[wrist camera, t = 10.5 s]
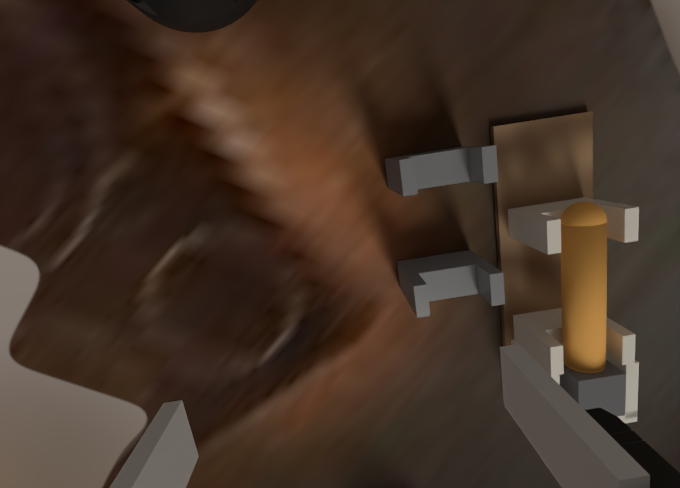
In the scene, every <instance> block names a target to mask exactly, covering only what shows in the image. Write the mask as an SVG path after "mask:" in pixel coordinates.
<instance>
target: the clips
mask: <svg viewBox="0 0 680 488" xmlns="http://www.w3.org/2000/svg"><path fill="white" fill-rule="evenodd" d="M582 201H586V202H592V203H594V204H597V205H598V206H600V207H601V208H602V209H603V210H604V212H605V214H606V216H607V238H610V239H613V240H617V241H620V242H623V243H627V242H633V241H638V224H639V207H636V206H630V205H624V204H619V203H613V202H607V201H601V200H595V199H590V198H584V197H583V198H577V199H570V200H564V201H557V202H551V203H544V204H538V205H532V206H525V207H519V208H512V209H508V225H509V237H510V238H512V239H515V240H517V241H519V242H521V243H523V244H525V245H528V246H530V247H532V248H534V249H536V250H539V251H541V252H543V253H545V254H547V255H549V254H556V253H561V219H560V218H561V215H562V213H563V212H564V210H565V209H566V208H567V207H569V206H570V205H572V204H574V203H577V202H582ZM513 323H514V340H511V345H515V344H519V345H520V346H521V347H522V348H523V349H524V350H525V351H526V352H527V353H528V354H529V355H530V356H531V357H532V358H533V359H534V360H535V361H536V362H537V363H538V364H539V365H540V366H541V367H542V368H543V369H544V370H545V371H546V372H547V373H548V374H549V375H550V376H551V377H552V378H553V379H554V380H555V381H556V382H557V383H558V384H559V385H560V375H561V374H564V362H563V345H562V308H557V309H550V310H544V311H537V312H531V313H524V314H518V315H513ZM606 360H608V361H609V362H610V363H612V364H613V365H614V366H616V367H617V368H618V369H620V370H621V371H623V372H624V373H625V374H626V387H625V415H623V416H617V417H618V418H620V419H621V420H622V421H623V422H624V423H630V422H636V421H637V409H638V375H639V362H638V361H636V360H635V334H634V333H633V332H631V331H629V330H627V329H626V328H624V327H622V326H621V325H619V324H617V323H615V322H614V321H612V320H610V319H609V318H607V317H606Z"/></svg>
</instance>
